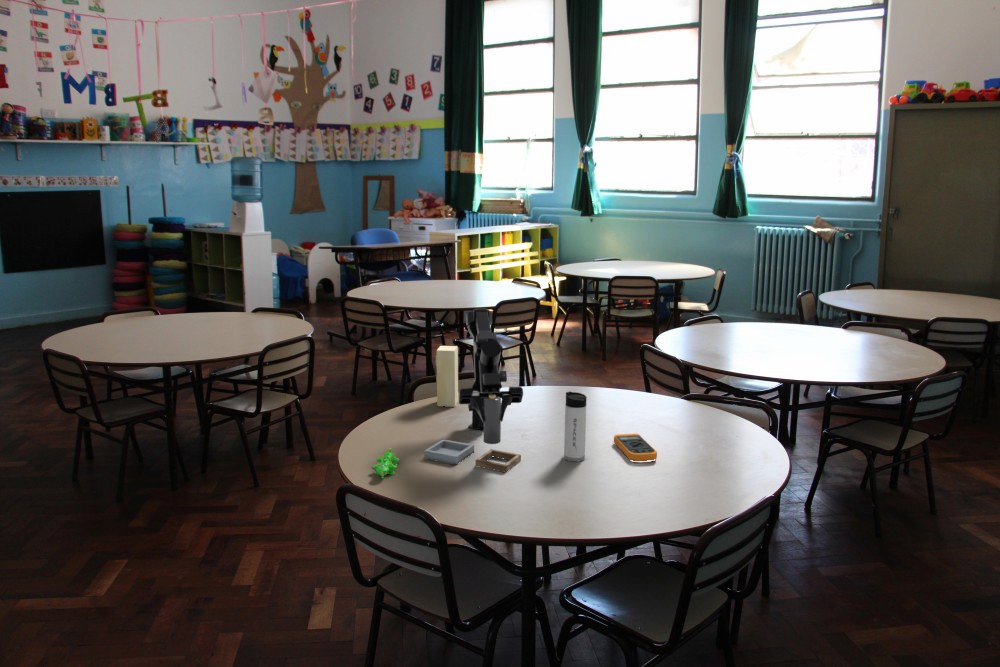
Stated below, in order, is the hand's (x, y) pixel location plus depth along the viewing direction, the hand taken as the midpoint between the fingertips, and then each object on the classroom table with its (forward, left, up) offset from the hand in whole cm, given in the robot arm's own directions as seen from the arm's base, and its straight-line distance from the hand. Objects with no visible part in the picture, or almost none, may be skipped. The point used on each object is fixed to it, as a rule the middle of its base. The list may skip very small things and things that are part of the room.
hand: (492, 421), depth 228 cm
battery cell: (-1, -1, -7) cm, 7 cm away
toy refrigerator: (-46, -42, -14) cm, 63 cm away
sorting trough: (-1, -15, -13) cm, 20 cm away
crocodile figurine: (+17, -26, -14) cm, 34 cm away
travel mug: (-17, +19, -14) cm, 29 cm away
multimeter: (-30, +34, -14) cm, 48 cm away
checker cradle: (-2, +1, -13) cm, 14 cm away
